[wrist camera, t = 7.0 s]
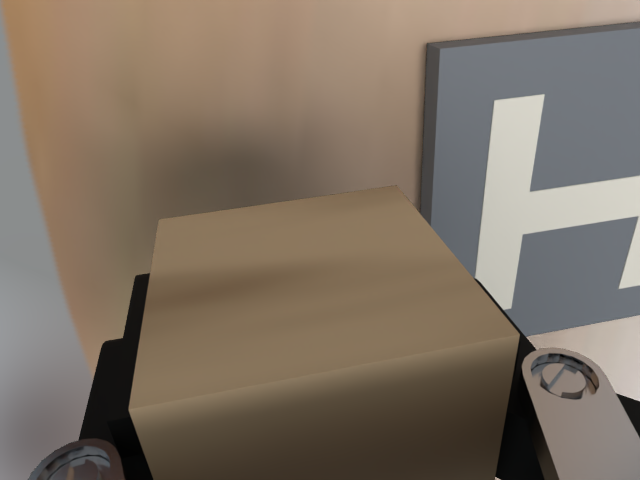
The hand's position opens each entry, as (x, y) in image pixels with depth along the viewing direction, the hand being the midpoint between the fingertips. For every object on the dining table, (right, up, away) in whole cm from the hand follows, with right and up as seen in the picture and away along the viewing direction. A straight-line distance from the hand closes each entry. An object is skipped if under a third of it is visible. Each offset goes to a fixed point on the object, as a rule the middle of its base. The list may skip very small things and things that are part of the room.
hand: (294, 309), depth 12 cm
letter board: (+12, +4, +11) cm, 17 cm away
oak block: (0, 0, 0) cm, 0 cm away
